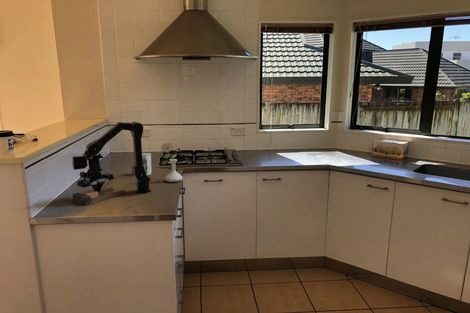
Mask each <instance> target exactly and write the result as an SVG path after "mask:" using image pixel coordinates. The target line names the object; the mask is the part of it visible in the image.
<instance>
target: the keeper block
mask: <svg viewBox="0 0 470 313" xmlns="http://www.w3.org/2000/svg"><path fill="white" fill-rule="evenodd" d="M80 193H81V194H84V195H88V196H91V199H93V198H96V197H100V195H98V192H97V191H94V189H93V190H92V189H90V190H85V191H83V192H82V191H81V192H80Z"/></svg>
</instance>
